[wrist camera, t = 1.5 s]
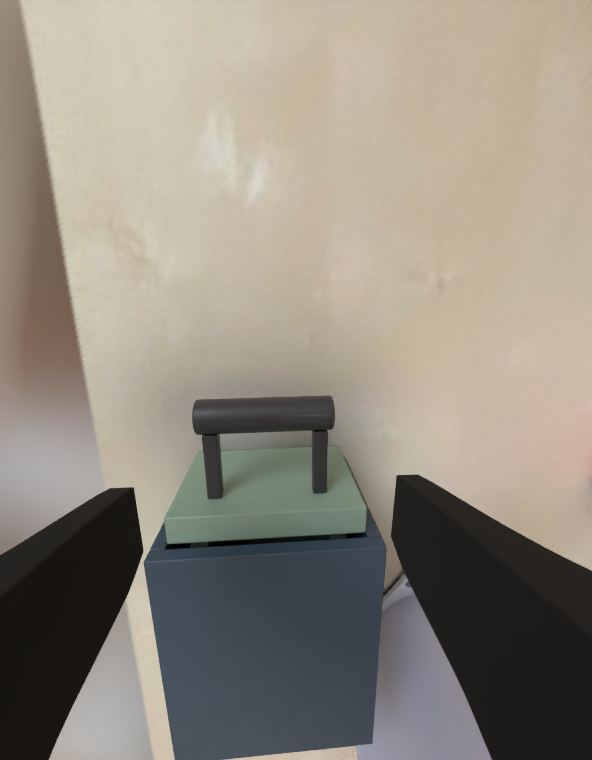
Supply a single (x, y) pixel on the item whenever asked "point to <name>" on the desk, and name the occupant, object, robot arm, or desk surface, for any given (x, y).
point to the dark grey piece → (268, 643)
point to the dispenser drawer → (265, 478)
